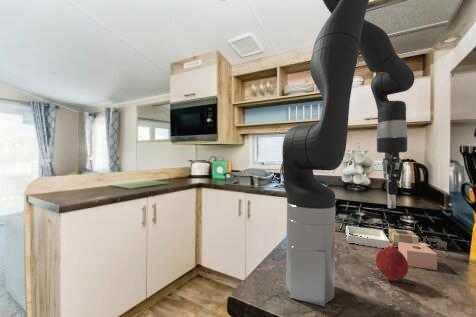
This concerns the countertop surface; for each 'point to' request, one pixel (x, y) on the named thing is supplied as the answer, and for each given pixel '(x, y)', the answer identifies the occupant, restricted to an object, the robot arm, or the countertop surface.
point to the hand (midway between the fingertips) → (391, 193)
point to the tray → (374, 236)
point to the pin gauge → (392, 200)
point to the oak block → (402, 237)
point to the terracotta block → (418, 255)
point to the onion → (392, 263)
